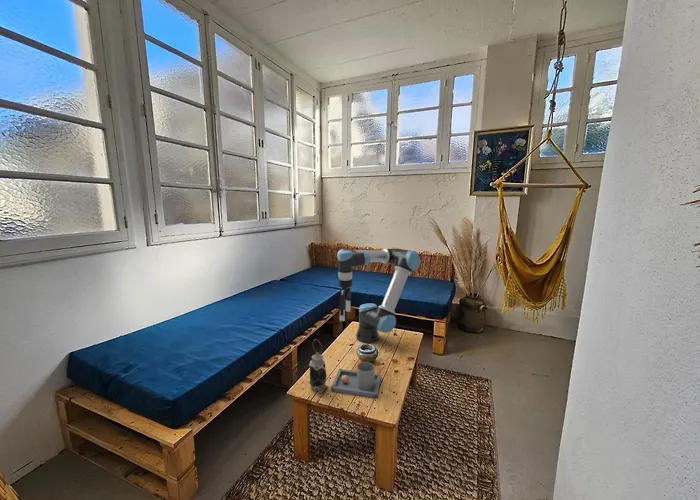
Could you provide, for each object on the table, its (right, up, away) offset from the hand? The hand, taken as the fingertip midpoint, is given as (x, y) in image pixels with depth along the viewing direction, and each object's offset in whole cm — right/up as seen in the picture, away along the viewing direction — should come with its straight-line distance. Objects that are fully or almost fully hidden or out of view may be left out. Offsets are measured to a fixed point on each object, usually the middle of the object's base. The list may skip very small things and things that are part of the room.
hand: (345, 315), depth 160 cm
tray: (+6, -30, -18) cm, 36 cm away
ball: (0, -29, -17) cm, 34 cm away
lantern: (-13, -31, -20) cm, 39 cm away
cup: (+10, -30, -19) cm, 37 cm away
